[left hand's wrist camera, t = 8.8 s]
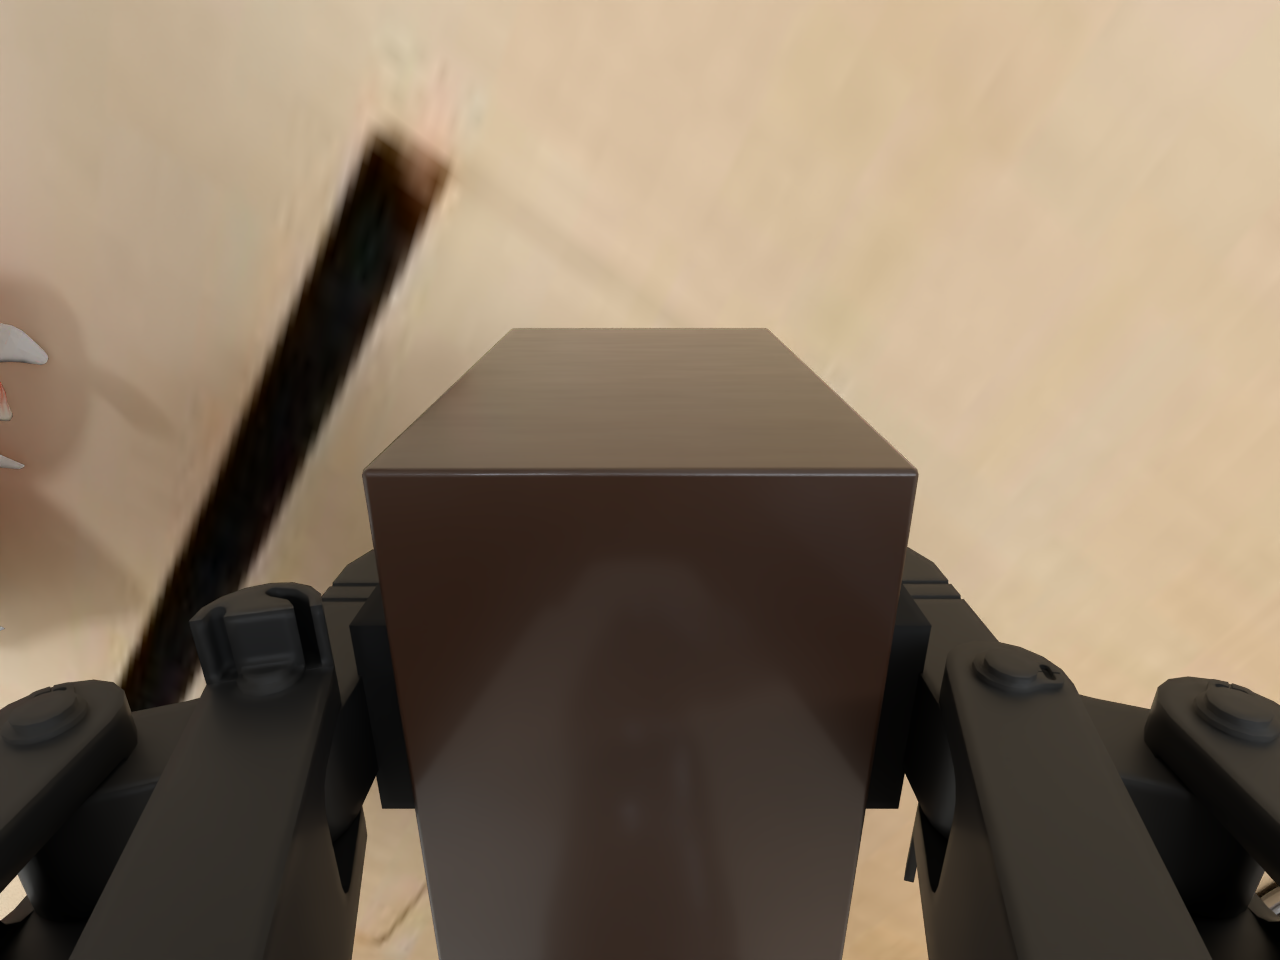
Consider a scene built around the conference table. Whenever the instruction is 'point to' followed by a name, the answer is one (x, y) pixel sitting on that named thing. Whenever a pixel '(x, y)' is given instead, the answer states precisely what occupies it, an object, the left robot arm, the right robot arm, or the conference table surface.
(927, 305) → the conference table surface
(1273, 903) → the right robot arm
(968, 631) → the left robot arm
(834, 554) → the brown metal block
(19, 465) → the fish
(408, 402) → the conference table surface
